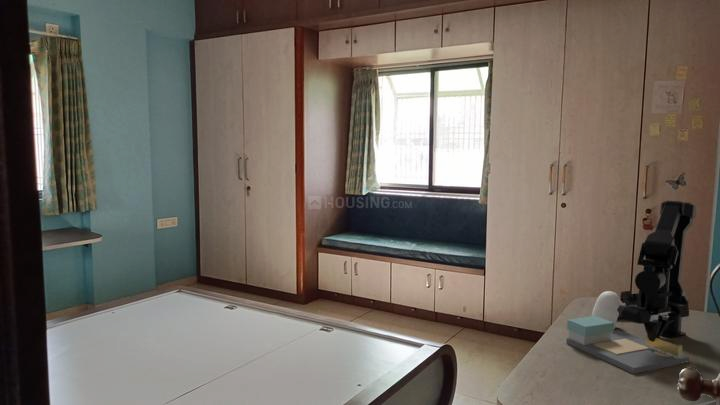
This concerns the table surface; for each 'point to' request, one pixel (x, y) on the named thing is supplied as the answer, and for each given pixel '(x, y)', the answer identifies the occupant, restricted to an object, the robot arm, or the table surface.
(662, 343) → the yellow rectangular block
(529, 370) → the table surface
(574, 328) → the cover
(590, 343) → the panel
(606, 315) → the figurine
